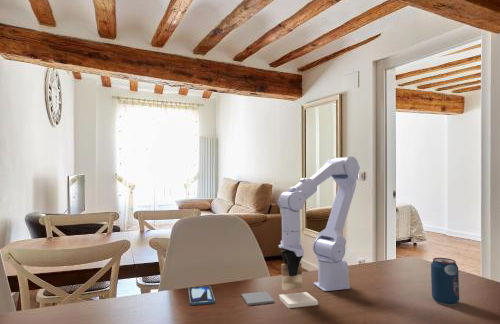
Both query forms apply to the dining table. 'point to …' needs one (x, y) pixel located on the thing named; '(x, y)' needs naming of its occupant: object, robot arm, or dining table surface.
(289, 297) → the tile
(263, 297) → the mat
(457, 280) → the soda can
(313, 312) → the dining table surface
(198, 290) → the smartphone
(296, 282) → the stepped beige block
